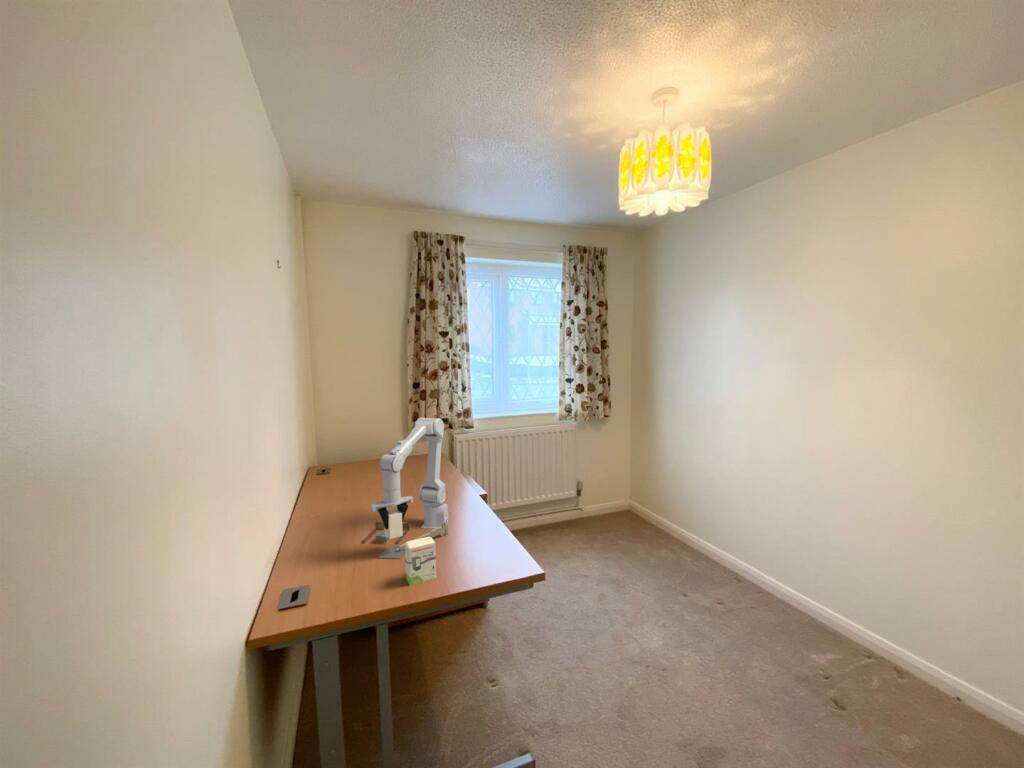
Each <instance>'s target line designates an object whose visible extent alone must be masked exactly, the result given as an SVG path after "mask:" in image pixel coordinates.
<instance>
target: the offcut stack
mask: <svg viewBox="0 0 1024 768" xmlns="http://www.w3.org/2000/svg"><path fill="white" fill-rule="evenodd" d="M391 540H392V539H389V538H388V537H387V536H386V535H385V534H384V531H379V532H378V533H377V534H376V535H375V537H374V541H375V542H374V543H375V545H376V544H380V545H382V544H384V545H387V544H388V543H390V541H391Z"/></svg>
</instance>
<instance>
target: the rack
mask: <svg viewBox="0 0 1024 768" xmlns="http://www.w3.org/2000/svg"><path fill="white" fill-rule="evenodd" d="M374 524H375V525H374V526H375V529H373V530H372V531H371V532H370V533H369V534H368V535H367V536H366V537H365V538H364V539H362V541H361V542H362V544H366V542H367V541H369V540H370V538H371V537H372V536H373V535H375V534H376V532H377V531H384V524H383V521H375V523H374ZM410 528H411V527H410V522H408V521H407V522H405V521H403V524H402V529H403V531H404V532H403V536H400V537H398V539H397V540H396V541H395V545H398V544H400V542H402V540H403V538H405V536H406V534H408V532H409V531H410V530H411V529H410Z"/></svg>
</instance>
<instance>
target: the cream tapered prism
mask: <svg viewBox="0 0 1024 768" xmlns="http://www.w3.org/2000/svg"><path fill="white" fill-rule="evenodd" d="M387 511H388V512H389V513H388V529H385V528H384V530H383V532H384V534H385V535H386V536H387V537H388V538H389V539H391V540H392V539H395V538H400V537H401V536H403V533H404V532H403V531H404V530H403V529H402V513H401V512H400V511H398V509H397V508H391V509H387Z"/></svg>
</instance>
